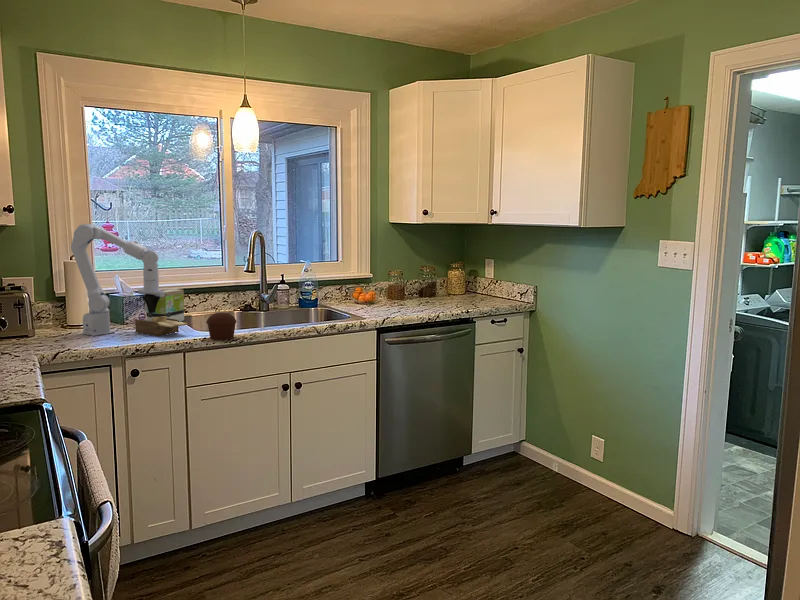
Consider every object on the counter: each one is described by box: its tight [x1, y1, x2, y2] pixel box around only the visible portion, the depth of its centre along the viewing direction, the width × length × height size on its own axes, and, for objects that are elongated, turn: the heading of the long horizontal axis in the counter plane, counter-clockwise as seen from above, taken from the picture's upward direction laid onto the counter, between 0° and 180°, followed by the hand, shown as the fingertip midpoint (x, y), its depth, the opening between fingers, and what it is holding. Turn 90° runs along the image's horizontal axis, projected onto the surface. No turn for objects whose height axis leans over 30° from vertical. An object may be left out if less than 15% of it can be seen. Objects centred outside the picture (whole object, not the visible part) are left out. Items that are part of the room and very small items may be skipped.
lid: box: [152, 316, 189, 327], centre depth 248 cm, size 8×14×2 cm, turn 59°
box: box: [134, 318, 180, 337], centre depth 252 cm, size 10×14×6 cm
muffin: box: [205, 311, 237, 341], centre depth 243 cm, size 12×11×10 cm
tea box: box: [145, 288, 185, 322], centre depth 277 cm, size 15×10×15 cm
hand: (151, 312), depth 253 cm, fingers closed
